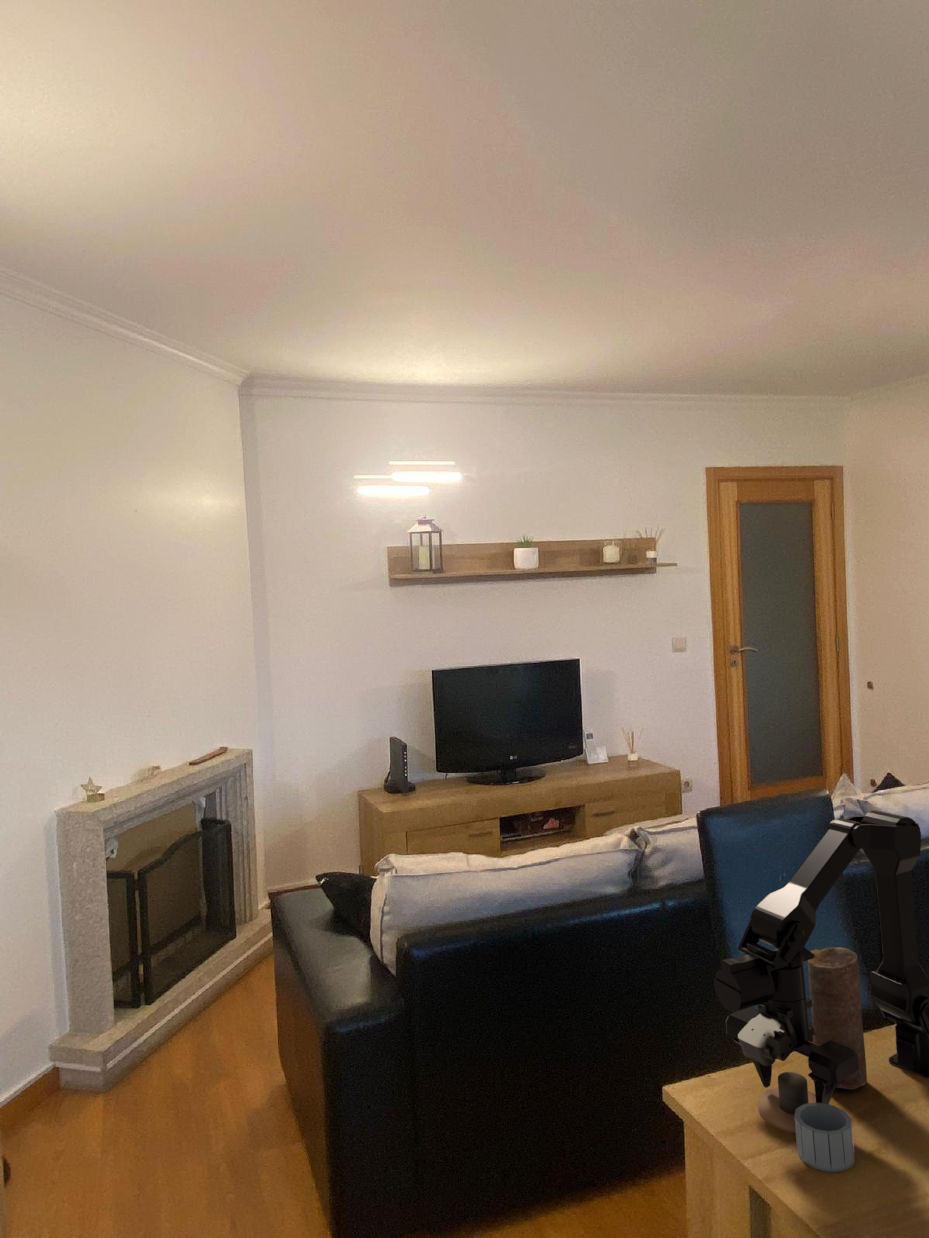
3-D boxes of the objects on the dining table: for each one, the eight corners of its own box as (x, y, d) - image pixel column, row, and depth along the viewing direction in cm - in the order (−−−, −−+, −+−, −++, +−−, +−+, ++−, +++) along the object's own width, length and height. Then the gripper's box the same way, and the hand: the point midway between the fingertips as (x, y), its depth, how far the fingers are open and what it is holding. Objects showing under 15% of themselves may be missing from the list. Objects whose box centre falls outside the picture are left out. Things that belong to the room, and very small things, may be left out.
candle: (874, 1098, 125) (863, 963, 125) (821, 1096, 126) (810, 963, 126) (860, 1070, 132) (850, 943, 132) (811, 1069, 134) (800, 943, 134)
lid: (785, 1085, 130) (783, 1053, 130) (846, 1115, 122) (844, 1081, 122) (744, 1111, 124) (741, 1077, 124) (805, 1144, 116) (802, 1108, 116)
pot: (818, 1132, 118) (815, 1096, 118) (865, 1156, 112) (862, 1119, 112) (786, 1152, 114) (783, 1116, 114) (833, 1179, 108) (830, 1140, 108)
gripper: (697, 989, 126) (705, 1092, 126) (806, 1035, 111) (816, 1153, 111) (746, 967, 132) (754, 1066, 132) (856, 1008, 117) (865, 1120, 117)
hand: (793, 1099), depth 123 cm, fingers open, 9 cm apart
